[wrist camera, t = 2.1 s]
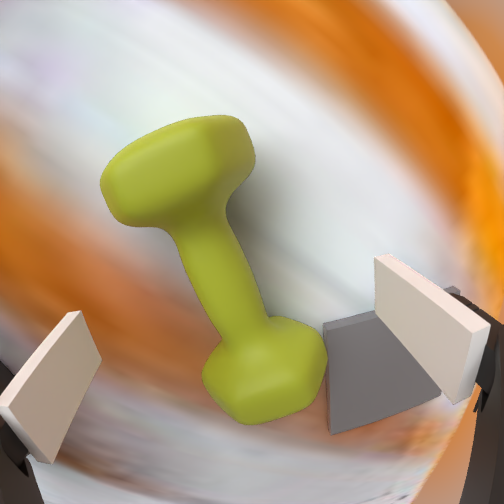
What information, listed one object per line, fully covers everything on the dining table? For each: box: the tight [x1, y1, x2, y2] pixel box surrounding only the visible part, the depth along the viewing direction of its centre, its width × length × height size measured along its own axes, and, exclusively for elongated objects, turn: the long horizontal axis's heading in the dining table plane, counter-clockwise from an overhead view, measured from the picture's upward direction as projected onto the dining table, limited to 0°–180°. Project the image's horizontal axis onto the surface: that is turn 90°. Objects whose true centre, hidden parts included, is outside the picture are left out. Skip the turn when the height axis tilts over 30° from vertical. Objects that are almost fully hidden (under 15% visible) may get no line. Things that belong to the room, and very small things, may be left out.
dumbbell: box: [100, 115, 328, 425], centre depth 16 cm, size 16×8×7 cm, turn 20°
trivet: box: [323, 286, 460, 435], centre depth 23 cm, size 12×12×1 cm
